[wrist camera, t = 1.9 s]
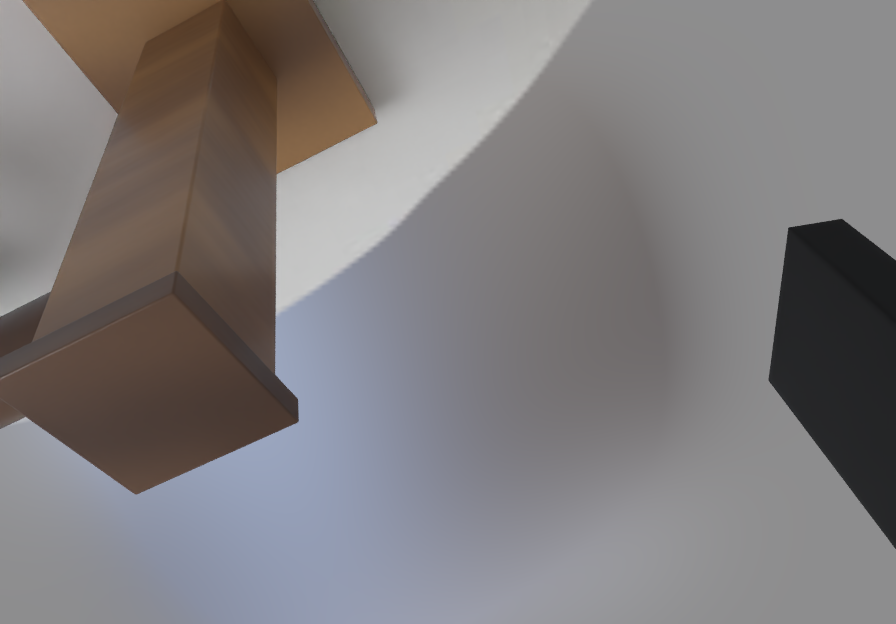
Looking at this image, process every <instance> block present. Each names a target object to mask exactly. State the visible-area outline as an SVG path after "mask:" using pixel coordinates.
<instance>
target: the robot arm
mask: <svg viewBox="0 0 896 624" xmlns="http://www.w3.org/2000/svg"><path fill="white" fill-rule="evenodd" d="M769 382H770V383H771V384H772V386H773V387H774V388H775V390H776V391H777V392H778V393H779V395H780V396H781V397H782V399H783V400H784V401H785V403H786V404H787V405H788V407H789V408H790V409H791V411H792V412H793V413H794V415H795V416H796V417H797V419H798V420H799V421H800V422H801V424H802V425H803V427H804V428H805V429H806V431H807V432H808V433H809V435H810V436H811V437H812V439H813V440H814V441H815V443H816V444H817V445H818V446H819V448H820V449H821V451H822V452H823V453H824V454H825V456H826V457H827V458H828V460H829V461H830V462H831V464H832V465H833V466H834V468H835V469H836V470H837V472H838V473H839V474H840V476H841V477H842V478H843V480H844V481H845V482H846V484H847V485H848V486H849V488H850V489H851V490H852V491H853V493H854V494H855V496H856V497H857V498H858V500H859V501H860V502H861V504H862V505H863V506H864V507H865V509H866V510H867V511H868V513H869V514H870V515H871V517H872V518H873V519H874V521H875V522H876V523H877V525H878V526H879V527H880V529H881V530H882V531H883V533H884V534H885V535H886V537H887V538H888V539H889V541H890V542H891V543H892V545H893V546H894V547H895V549H896V260H894V259H893V258H892V257H891V256H889V255H888V254H887V253H885V252H884V251H883V250H881V249H880V248H879V247H878V246H876V245H875V244H874V243H872V242H871V241H869V239H867V238H866V237H865V236H863V235H862V234H861V233H860V232H858V231H857V230H856V229H854V228H853V227H852V226H850V225H849V224H848V223H847V222H845V221H844V220H843V219H838V220H832V221H826V222H820V223H814V224H808V225H802V226H795V227H789V228H788V235H787V244H786V251H785V258H784V266H783V274H782V281H781V290H780V296H779V304H778V312H777V319H776V327H775V335H774V343H773V351H772V358H771V366H770V374H769Z"/></svg>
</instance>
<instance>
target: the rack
mask: <svg viewBox="0 0 896 624" xmlns="http://www.w3.org/2000/svg"><path fill="white" fill-rule="evenodd" d="M22 1H23V2H24V3H25V4H26V5H27V6H28V8H29V9H30V10H31V11H32V12H33V14H34V15H35V16H36V17H37V18H38V20H39V21H40V22H41V23H42V24H43V25H44V27H45V28H46V29H47V30H48V31H49V33H50V34H51V35H52V36H53V37H54V38H55V40H56V41H57V42H58V43H59V44H60V46H61V47H62V48H63V49H64V50H65V52H66V53H67V54H68V55H69V56H70V57H71V59H72V60H73V61H74V62H75V63H76V65H77V66H78V67H79V68H80V69H81V70H82V72H83V73H84V74H85V75H86V76H87V78H88V79H89V80H90V81H91V82H92V84H93V85H94V86H95V87H96V88H97V89H98V91H99V92H100V93H101V94H102V95H103V97H104V98H105V99H106V100H107V101H108V103H109V104H110V105H111V106H112V107H113V108H114V110H115V111H116V112H117V113H118V116H117V119H116V122H115V124H114V127H113V129H112V132H111V135H110V137H109V140H108V143H107V145H106V148H105V151H104V153H103V156H102V159H101V161H100V164H99V166H98V169H97V172H96V174H95V177H94V180H93V182H92V185H91V188H90V190H89V193H88V196H87V198H86V201H85V203H84V206H83V209H82V211H81V214H80V217H79V219H78V222H77V225H76V227H75V230H74V232H73V235H72V238H71V240H70V243H69V246H68V248H67V251H66V254H65V256H64V259H63V262H62V264H61V267H60V269H59V272H58V275H57V277H56V280H55V283H54V285H53V288H52V291H51V292H49V293H47V294H45V295H43V296H41V297H39V298H37V299H35V300H33V301H31V302H29V303H27V304H25V305H23V306H21V307H19V308H17V309H15V310H13V311H11V312H9V313H7V314H5V315H3V316H1V317H0V429H1V428H3V427H5V426H8V425H10V424H12V423H14V422H16V421H18V420H20V419H22V418H24V417H27V418H28V419H30V420H31V421H32V422H34V423H35V424H37V425H38V426H40V427H41V428H42V429H44V430H45V431H47V432H48V433H49V434H51V435H52V436H54V437H55V438H57V439H58V440H59V441H61V442H62V443H63V444H65V445H66V446H68V447H69V448H71V449H72V450H73V451H75V452H76V453H77V454H79V455H80V456H82V457H83V458H85V459H86V460H87V461H89V462H90V463H92V464H93V465H94V466H96V467H97V468H99V469H100V470H101V471H103V472H104V473H106V474H107V475H108V476H110V477H111V478H113V479H114V480H115V481H117V482H118V483H120V484H121V485H123V486H124V487H126V488H127V489H128V490H130V491H131V492H132V493H134V494H139V493H141V492H143V491H145V490H147V489H150V488H152V487H154V486H157V485H159V484H161V483H163V482H166V481H168V480H170V479H172V478H174V477H177V476H179V475H181V474H183V473H185V472H188V471H190V470H192V469H195V468H197V467H199V466H201V465H204V464H206V463H208V462H210V461H213V460H215V459H217V458H219V457H222V456H224V455H226V454H228V453H231V452H233V451H235V450H237V449H239V448H242V447H244V446H246V445H248V444H251V443H253V442H255V441H257V440H260V439H262V438H264V437H266V436H269V435H271V434H273V433H275V432H278V431H280V430H282V429H284V428H286V427H289V426H291V425H293V424H295V423H297V422H298V421H299V419H298V399H297V398H296V397H295V395H294V394H293V393H292V392H291V391H290V390H289V389H287V387H286V386H285V385H284V384H283V383H282V382H281V381H280V380H279V378H278V377H277V376H276V375H275V312H276V174H278V173H280V172H282V171H284V170H286V169H288V168H290V167H292V166H294V165H296V164H298V163H300V162H302V161H304V160H306V159H307V158H309V157H311V156H313V155H315V154H317V153H319V152H321V151H323V150H325V149H327V148H329V147H331V146H333V145H335V144H337V143H339V142H341V141H343V140H345V139H347V138H349V137H351V136H353V135H355V134H357V133H359V132H361V131H363V130H365V129H367V128H369V127H371V126H373V125H375V124H377V119H376V115H375V110H374V108H373V106H372V104H371V103H370V101H369V99H368V97H367V95H366V94H365V92H364V90H363V88H362V87H361V85H360V83H359V81H358V79H357V78H356V76H355V74H354V72H353V71H352V69H351V67H350V65H349V63H348V62H347V60H346V58H345V56H344V55H343V53H342V51H341V49H340V47H339V46H338V44H337V42H336V40H335V39H334V37H333V35H332V33H331V31H330V30H329V28H328V26H327V24H326V22H325V21H324V19H323V17H322V15H321V14H320V12H319V10H318V8H317V6H316V5H315V3H314V1H313V0H22Z"/></svg>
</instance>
